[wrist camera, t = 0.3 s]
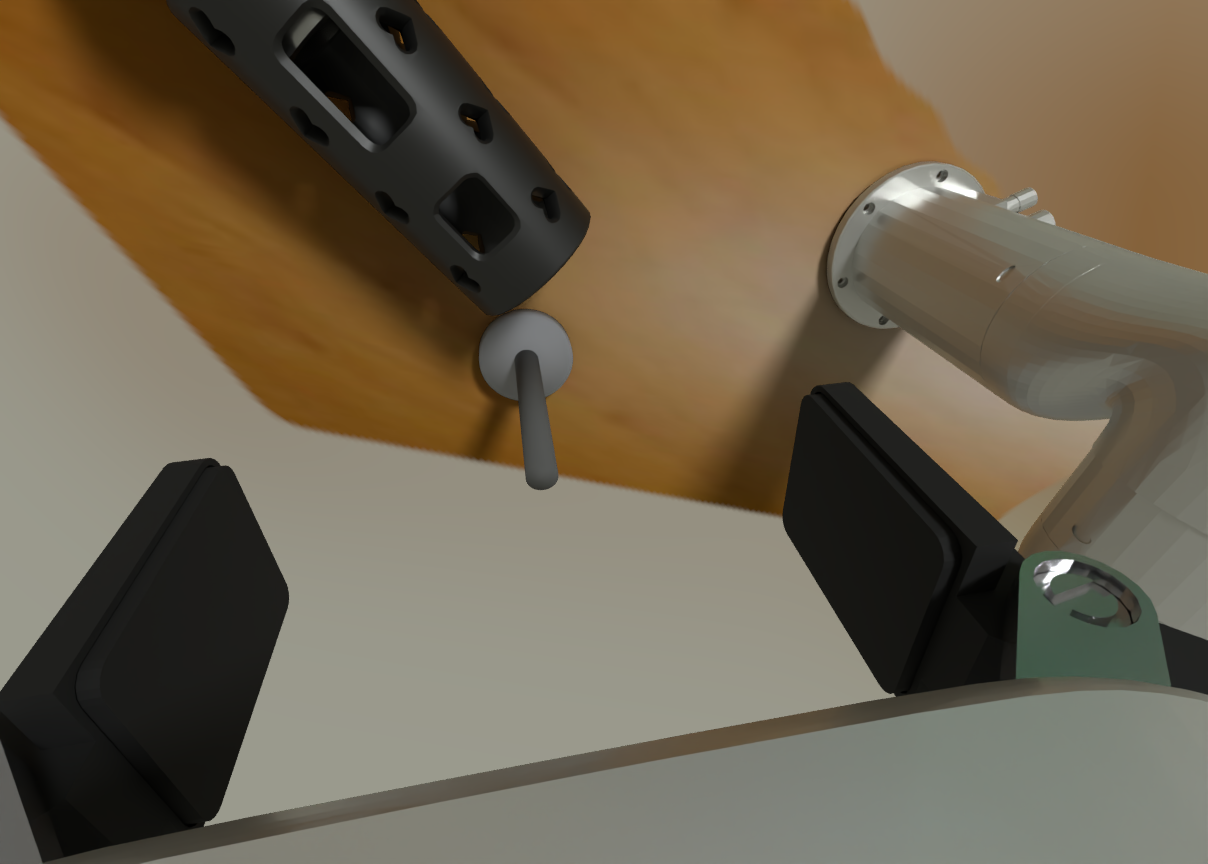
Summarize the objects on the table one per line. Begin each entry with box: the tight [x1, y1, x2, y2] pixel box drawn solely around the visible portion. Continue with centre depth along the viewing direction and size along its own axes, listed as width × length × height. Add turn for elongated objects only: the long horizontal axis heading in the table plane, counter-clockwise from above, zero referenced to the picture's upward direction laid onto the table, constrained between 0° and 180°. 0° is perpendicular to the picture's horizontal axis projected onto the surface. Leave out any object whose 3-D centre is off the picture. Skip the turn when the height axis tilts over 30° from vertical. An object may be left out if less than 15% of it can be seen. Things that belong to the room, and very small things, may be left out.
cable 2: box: [479, 309, 573, 490], centre depth 40 cm, size 7×7×16 cm
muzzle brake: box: [166, 0, 591, 316], centre depth 31 cm, size 10×28×10 cm, turn 39°
